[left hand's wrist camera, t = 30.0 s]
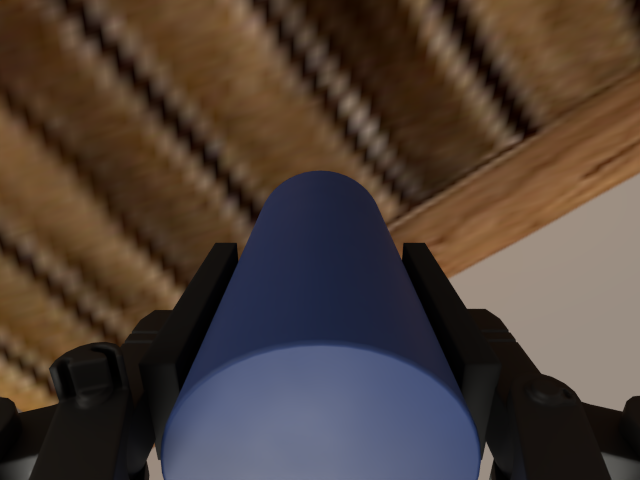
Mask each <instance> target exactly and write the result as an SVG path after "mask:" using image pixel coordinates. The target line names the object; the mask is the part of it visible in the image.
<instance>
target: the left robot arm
mask: <svg viewBox="0 0 640 480" xmlns="http://www.w3.org/2000/svg"><path fill="white" fill-rule="evenodd" d="M402 262H403V264H404V266H405V269H406V271H407V273H408V275H409V278H410V280H411V282H412V284H413V286H414V289H415V291H416V293H417V295H418V297H419V300H420V302H421V304H422V306H423V309H424V311H425V313H426V315H427V317H428V320H429V322H430V324H431V326H432V329H433V331H434V333H435V335H436V337H437V340H438V342H439V344H440V346H441V349H442V351H443V353H444V355H445V357H446V360H447V362H448V364H449V366H450V369H451V371H452V373H453V375H454V377H455V380H456V382H457V384H458V386H459V389H460V391H461V393H462V395H463V397H464V400H465V402H466V404H467V406H468V409H469V411H470V413H471V415H472V418H473V420H474V422H475V424H476V427H477V431H478V435H479V439H480V447H481V460H482V458H483V453H484V448H485V443H486V442H487V444H488V447H489V449H490V451H491V453H492V455H493V457H494V460H493V465H492V469H491V474H490V478H489V480H640V396H634V397H632V398H630V399H629V400H628V401H627V402H626V404H625V407H624V410H623V412H622V411H617V410H613V409H608V408H604V407H599V406H595V405H590V404H587V403H584V402H581V400H580V399H579V397H578V396H577V394H576V393H575V392H574V391H573V390H572V389H571V388H570V387H568V386H567V385H566V384H565V383H563V382H561V381H559V380H557V379H555V378H553V377H550V376H547V375H544V374H541V373H540V372H539V370H538V369H537V368H536V366H535V365H534V364H533V362H532V361H531V360H530V358H529V357H528V356H527V354H526V353H525V352H524V350H523V349H522V348H521V346H520V345H519V344H518V342H516V340H515V338H514V337H513V336H512V334H511V333H509V332H508V329H507V328H506V326H505V325H504V324H503V322H502V321H501V320H500V319H499V318H498V317H497V316H495V315H494V314H492V313H491V312H489V311H488V310H486V309H467V308H466V307H465V305H464V304H463V302H462V301H461V299H460V297H459V296H458V294H457V293H456V291H455V290H454V288H453V286H452V285H451V283H450V282H449V280H448V279H447V277H446V275H445V274H444V272H443V271H442V269H441V268H440V266H439V264H438V263H437V261H436V260H435V258H434V257H433V255H432V253H431V252H430V250H429V249H428V247H427V246H426V244H425V243H404V244H403V255H402ZM237 264H238V252H237V243H215V245H214V246H213V248H212V249H211V251H210V252H209V254H208V255H207V257H206V259H205V260H204V262H203V263H202V265H201V266H200V268H199V270H198V271H197V273H196V274H195V276H194V277H193V279H192V281H191V282H190V284H189V285H188V287H187V288H186V290H185V292H184V293H183V295H182V296H181V298H180V299H179V301H178V302H177V304H176V306H175V307H174V309H173V310H155V311H153V312H152V313H150V314H149V315H147V316H146V317H144V318H143V319H141V320H140V322H139V323H138V324H137V326H136V327H135V328H134V330H133V331H132V334H130V335H129V336H128V338H127V339H126V340H125V344H122V346H121V347H119V346H117V345H116V344H113V343H108V342H98V343H91V344H87V345H83V346H79V347H77V348H75V349H73V350H70V351H68V352H66V353H65V354H63V355H62V356H61V357H59V358H58V359H56V360H55V362H54V363H53V364H52V365H51V367H50V368H49V370H50V373H51V377H52V380H53V383H54V386H55V389H56V393H57V396H58V399H59V403H58V404H56V405H52V406H48V407H44V408H39V409H35V410H30V411H26V412H22V413H18V412H17V409H16V406H15V403H14V402H13V401H11V400H10V399H8V398H2V397H0V480H149V470H148V465H147V458H148V456H149V453H150V451H151V449H152V447H153V445H154V442H155V447H156V452H157V456H158V460H161V457H160V453H161V441H162V436H163V433H164V429H165V425H166V423H167V420H168V418H169V416H170V414H171V411H172V409H173V407H174V405H175V402H176V400H177V398H178V396H179V394H180V391H181V389H182V387H183V385H184V382H185V380H186V378H187V376H188V373H189V371H190V369H191V367H192V365H193V362H194V360H195V358H196V356H197V353H198V351H199V349H200V347H201V344H202V342H203V340H204V338H205V335H206V333H207V331H208V329H209V327H210V324H211V322H212V320H213V318H214V315H215V313H216V311H217V309H218V306H219V304H220V302H221V300H222V298H223V295H224V293H225V291H226V289H227V286H228V284H229V282H230V280H231V277H232V275H233V273H234V271H235V269H236V266H237Z"/></svg>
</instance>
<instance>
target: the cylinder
mask: <svg viewBox="0 0 640 480" xmlns="http://www.w3.org/2000/svg"><path fill="white" fill-rule="evenodd" d="M160 457H161V467H162V474H163V478H164V480H478V477H479V471H480V463H481V447H480V439H479V435H478V431H477V427H476V424H475V422H474V420H473V418H472V415H471V413H470V411H469V409H468V406H467V404H466V402H465V400H464V397H463V395H462V393H461V391H460V389H459V386H458V384H457V382H456V380H455V377H454V375H453V373H452V371H451V369H450V366H449V364H448V362H447V360H446V357H445V355H444V353H443V351H442V349H441V346H440V344H439V342H438V340H437V337H436V335H435V333H434V331H433V329H432V326H431V324H430V322H429V320H428V317H427V315H426V313H425V311H424V309H423V306H422V304H421V302H420V300H419V297H418V295H417V293H416V291H415V289H414V286H413V284H412V282H411V280H410V278H409V275H408V273H407V271H406V269H405V266H404V264H403V262H402V260H401V258H400V255H399V253H398V251H397V249H396V246H395V244H394V242H393V240H392V238H391V235H390V233H389V231H388V229H387V226H386V224H385V222H384V220H383V218H382V215H381V213H380V211H379V209H378V206H377V204H376V202H375V201H374V199H373V197H372V196H371V195H370V194H369V192H368V191H367V190H366V189H365V188H364V187H363V186H362V185H361V184H359V183H358V182H356V181H355V180H353V179H351V178H349V177H347V176H345V175H342V174H339V173H335V172H330V171H311V172H306V173H302V174H299V175H296V176H294V177H292V178H290V179H288V180H286V181H285V182H283V183H282V184H280V185H279V186H278V187H277V188H276V189H275V190H274V191H273V192H272V193H271V194H270V196H269V197H268V199H267V200H266V202H265V204H264V206H263V208H262V210H261V213H260V215H259V217H258V219H257V222H256V224H255V226H254V228H253V231H252V233H251V235H250V237H249V239H248V242H247V244H246V246H245V248H244V251H243V253H242V255H241V257H240V260H239V262H238V264H237V266H236V269H235V271H234V273H233V275H232V277H231V280H230V282H229V284H228V286H227V289H226V291H225V293H224V295H223V298H222V300H221V302H220V304H219V306H218V309H217V311H216V313H215V315H214V318H213V320H212V322H211V324H210V327H209V329H208V331H207V333H206V335H205V338H204V340H203V342H202V344H201V347H200V349H199V351H198V353H197V356H196V358H195V360H194V362H193V365H192V367H191V369H190V371H189V373H188V376H187V378H186V380H185V382H184V385H183V387H182V389H181V391H180V394H179V396H178V398H177V400H176V402H175V405H174V407H173V409H172V411H171V414H170V416H169V418H168V420H167V423H166V425H165V429H164V433H163V436H162V441H161V453H160Z"/></svg>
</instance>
